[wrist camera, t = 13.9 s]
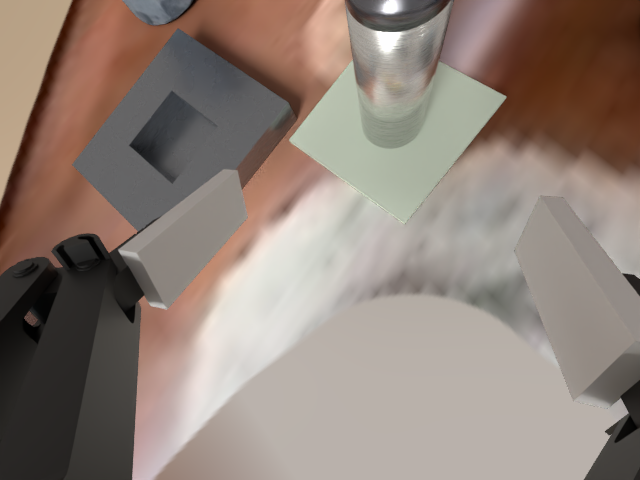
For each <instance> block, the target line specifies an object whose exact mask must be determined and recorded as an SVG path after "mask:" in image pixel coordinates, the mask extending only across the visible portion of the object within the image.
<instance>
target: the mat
mask: <svg viewBox="0 0 640 480" xmlns="http://www.w3.org/2000/svg"><path fill="white" fill-rule="evenodd" d="M505 99H506V96H504V95H502V94H501V93H499V92H497V91H495V90H493V89H491V88H489V87H487V86H485V85H483V84H482V83H480V82H478V81H476V80H474V79H472V78H470V77H468V76H466V75H465V74H463V73H461V72H459V71H457V70H455V69H453V68H451V67H449V66H447V65H446V64H444V63H442V62H440V61H439V62H438V66H437V70H436V74H435V78H434V82H433V86H432V90H431V94H430V98H429V102H428V106H427V110H426V113H425V117H424V121H423V125H422V128H421V130H420V132H419V134H418V135H417V136H416V138H415V139H414V140H412V141H411V142H410V143H408V144H406V145H404V146H402V147H399V148H393V149H386V148H381V147H378V146H376V145H374V144H372V143H371V142H370V141H369V140H368V139H367V138H366V136H365V135H364V133H363V130H362V124H361V117H360V109H359V102H358V94H357V87H356V80H355V72H354V65H353V60H352V61H351V62H350V64H349V65H348V66H347V67H346V69H345V70H344V71H343V72H342V74H341V75H340V76H339V78H338V79H337V80H336V81H335V83H334V84H333V85H332V86H331V88H330V89H329V90H328V91H327V93H326V94H325V95H324V96H323V98H322V99H321V100H320V102H319V103H318V104H317V105H316V107H315V108H314V109H313V110H312V112H311V113H310V114H309V115H308V117H307V118H306V119H305V121H304V122H303V123H302V124H301V126H300V127H299V128H298V129H297V131H296V132H295V133H294V134H293V136H292V137H291V138H290V139H289V140H290V142H291V143H292V144H293V145H294V146H296V147H297V148H299V149H300V150H301V151H303V152H304V153H306V154H307V155H308V156H310V157H311V158H313V159H314V160H315V161H317V162H318V163H320V164H321V165H322V166H324V167H325V168H326V169H328V170H329V171H331V172H332V173H333V174H335V175H336V176H338V177H339V178H340V179H342V180H343V181H345V182H346V183H347V184H349V185H350V186H352V187H353V188H354V189H356V190H357V191H359V192H360V193H361V194H363V195H364V196H365V197H367V198H368V199H370V200H371V201H372V202H374V203H375V204H377V205H378V206H379V207H381V208H382V209H384V210H385V211H386V212H388V213H389V214H391V215H392V216H393V217H395V218H396V219H397V220H399V221H400V222H402V223H403V224H404V225H405V224H406V223H407V221H408V220H409V219H410V218H411V216H412V215H413V214H414V213H415V211H416V210H417V209H418V208H419V206H420V205H421V204H422V203H423V201H424V200H425V199H426V198H427V196H428V195H429V194H430V193H431V191H432V190H433V189H434V188H435V186H436V185H437V184H438V183H439V181H440V180H441V179H442V178H443V177H444V175H445V174H446V173H447V172H448V170H449V169H450V168H451V167H452V165H453V164H454V163H455V162H456V160H457V159H458V158H459V157H460V155H461V154H462V153H463V152H464V150H465V149H466V148H467V147H468V145H469V144H470V143H471V142H472V140H473V139H474V138H475V137H476V135H477V134H478V133H479V132H480V131H481V129H482V128H483V127H484V126H485V124H486V123H487V122H488V121H489V119H490V118H491V117H492V116H493V114H494V113H495V112H496V111H497V109H498V108H499V107H500V106H501V104H502V103H503V102H504V100H505Z"/></svg>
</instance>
